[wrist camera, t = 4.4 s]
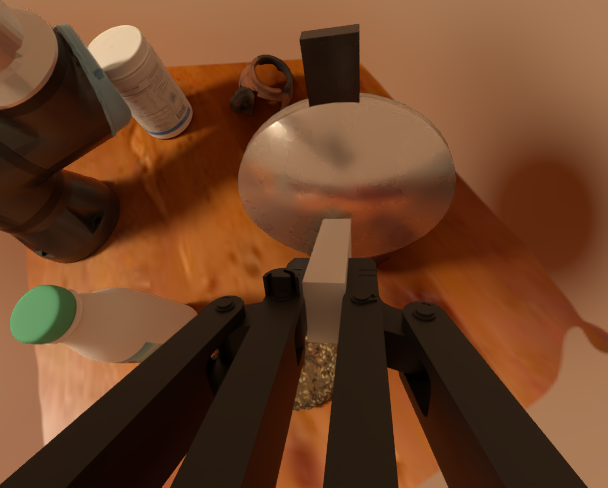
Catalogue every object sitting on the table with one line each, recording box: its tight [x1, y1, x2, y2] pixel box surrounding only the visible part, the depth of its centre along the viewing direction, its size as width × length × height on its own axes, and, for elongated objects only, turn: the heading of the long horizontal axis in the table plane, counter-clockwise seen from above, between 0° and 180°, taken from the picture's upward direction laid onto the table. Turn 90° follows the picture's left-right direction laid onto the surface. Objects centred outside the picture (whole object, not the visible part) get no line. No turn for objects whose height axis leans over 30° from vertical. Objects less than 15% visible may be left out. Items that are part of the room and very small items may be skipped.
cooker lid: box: [238, 24, 456, 258], centre depth 24 cm, size 20×17×1 cm
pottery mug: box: [229, 55, 293, 115], centre depth 51 cm, size 12×9×8 cm
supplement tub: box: [88, 25, 193, 139], centre depth 50 cm, size 10×10×15 cm
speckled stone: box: [293, 334, 338, 411], centre depth 36 cm, size 13×12×5 cm
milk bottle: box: [10, 285, 197, 363], centre depth 32 cm, size 8×8×20 cm
